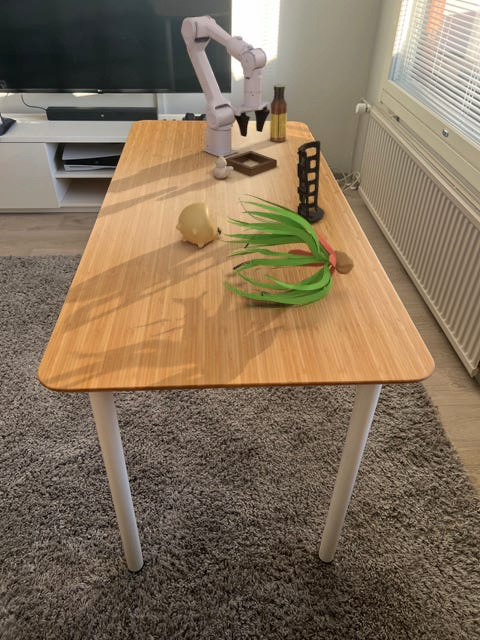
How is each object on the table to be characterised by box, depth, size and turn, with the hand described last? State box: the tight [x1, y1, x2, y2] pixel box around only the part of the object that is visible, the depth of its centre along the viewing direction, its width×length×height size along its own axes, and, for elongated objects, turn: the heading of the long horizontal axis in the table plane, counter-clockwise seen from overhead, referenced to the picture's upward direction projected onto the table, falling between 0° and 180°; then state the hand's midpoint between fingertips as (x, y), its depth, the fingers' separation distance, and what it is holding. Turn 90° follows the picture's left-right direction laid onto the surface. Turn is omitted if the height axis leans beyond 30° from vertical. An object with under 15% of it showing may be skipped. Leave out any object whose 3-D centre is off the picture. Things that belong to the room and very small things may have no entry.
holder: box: [296, 140, 325, 225], centre depth 141 cm, size 11×8×20 cm
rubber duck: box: [212, 154, 234, 180], centre depth 166 cm, size 5×7×8 cm
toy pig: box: [175, 202, 222, 249], centre depth 131 cm, size 10×12×11 cm
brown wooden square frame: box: [224, 150, 278, 177], centre depth 176 cm, size 13×13×2 cm
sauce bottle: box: [269, 83, 288, 143], centre depth 194 cm, size 7×6×20 cm
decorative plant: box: [216, 193, 355, 310], centre depth 108 cm, size 26×25×30 cm
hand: (251, 133), depth 175 cm, fingers open, 7 cm apart
